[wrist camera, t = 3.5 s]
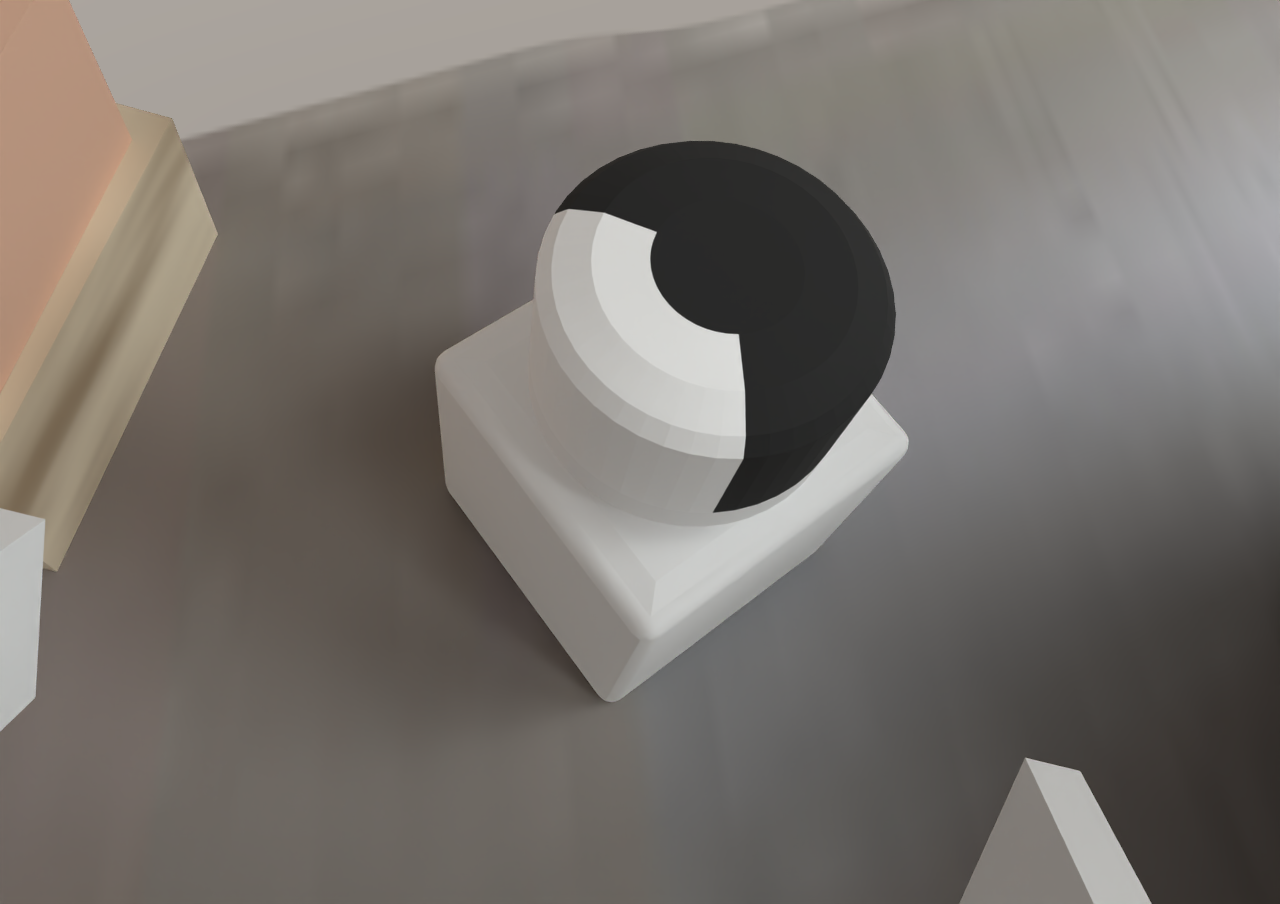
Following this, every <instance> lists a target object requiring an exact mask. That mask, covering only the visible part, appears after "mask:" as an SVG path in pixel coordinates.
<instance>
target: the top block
mask: <svg viewBox="0 0 1280 904" xmlns="http://www.w3.org/2000/svg"><path fill="white" fill-rule="evenodd" d="M131 141H132V138H131V136H130V134H129V132H128V129H127V127H126V125H125V123H124V121H123V118H122V116H121V114H120V112H119V110H118V107H117V105H116V103H115V101H114V99H113V97H112V94H111V92H110V90H109V88H108V85H107V83H106V81H105V79H104V77H103V74H102V72H101V70H100V68H99V66H98V63H97V61H96V59H95V57H94V55H93V52H92V50H91V48H90V46H89V44H88V41H87V39H86V37H85V35H84V33H83V30H82V28H81V26H80V24H79V22H78V19H77V17H76V15H75V13H74V11H73V9H72V6H71V4H70V2H69V0H0V393H1V391H2V389H3V387H4V385H5V384H6V382H7V380H8V378H9V376H10V374H11V372H12V370H13V368H14V366H15V364H16V362H17V360H18V359H19V357H20V355H21V353H22V351H23V349H24V347H25V345H26V343H27V341H28V339H29V337H30V335H31V334H32V332H33V330H34V328H35V326H36V324H37V322H38V320H39V318H40V316H41V314H42V312H43V310H44V309H45V307H46V305H47V303H48V301H49V299H50V297H51V295H52V293H53V291H54V289H55V287H56V285H57V284H58V282H59V280H60V278H61V276H62V274H63V272H64V270H65V268H66V266H67V264H68V262H69V260H70V259H71V257H72V255H73V253H74V251H75V249H76V247H77V245H78V243H79V241H80V239H81V237H82V235H83V234H84V232H85V230H86V228H87V226H88V224H89V222H90V220H91V218H92V216H93V214H94V212H95V210H96V209H97V207H98V205H99V203H100V201H101V199H102V197H103V195H104V193H105V191H106V189H107V187H108V185H109V184H110V182H111V180H112V178H113V176H114V174H115V172H116V170H117V168H118V166H119V164H120V162H121V160H122V159H123V157H124V155H125V153H126V151H127V149H128V147H129V145H130V143H131Z"/></svg>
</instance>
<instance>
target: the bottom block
mask: <svg viewBox="0 0 1280 904" xmlns="http://www.w3.org/2000/svg"><path fill="white" fill-rule="evenodd" d="M116 105H117V107H118V110H119V112H120V114H121V116H122V118H123V121H124V123H125V125H126V127H127V129H128V132H129V134H130V136H131V138H132V141H131V143H130V145H129V147H128V149H127V151H126V153H125V155H124V157H123V159H122V160H121V162H120V164H119V166H118V168H117V170H116V172H115V174H114V176H113V178H112V180H111V182H110V184H109V185H108V187H107V189H106V191H105V193H104V195H103V197H102V199H101V201H100V203H99V205H98V207H97V209H96V210H95V212H94V214H93V216H92V218H91V220H90V222H89V224H88V226H87V228H86V230H85V232H84V234H83V235H82V237H81V239H80V241H79V243H78V245H77V247H76V249H75V251H74V253H73V255H72V257H71V259H70V260H69V262H68V264H67V266H66V268H65V270H64V272H63V274H62V276H61V278H60V280H59V282H58V284H57V285H56V287H55V289H54V291H53V293H52V295H51V297H50V299H49V301H48V303H47V305H46V307H45V309H44V310H43V312H42V314H41V316H40V318H39V320H38V322H37V324H36V326H35V328H34V330H33V332H32V334H31V335H30V337H29V339H28V341H27V343H26V345H25V347H24V349H23V351H22V353H21V355H20V357H19V359H18V360H17V362H16V364H15V366H14V368H13V370H12V372H11V374H10V376H9V378H8V380H7V382H6V384H5V385H4V387H3V389H2V391H1V393H0V508H1V509H5V510H10V511H14V512H18V513H22V514H26V515H30V516H34V517H38V518H42V519H45V535H44V553H43V568H44V569H48V570H52V571H55V572H57V571H58V569H59V567H60V565H61V563H62V561H63V558H64V556H65V554H66V552H67V550H68V548H69V546H70V544H71V542H72V540H73V537H74V535H75V533H76V531H77V529H78V527H79V525H80V523H81V521H82V519H83V516H84V514H85V512H86V510H87V508H88V506H89V504H90V502H91V500H92V498H93V495H94V493H95V491H96V489H97V487H98V485H99V483H100V481H101V479H102V477H103V474H104V472H105V470H106V468H107V466H108V464H109V462H110V460H111V458H112V456H113V453H114V451H115V449H116V447H117V445H118V443H119V441H120V439H121V437H122V435H123V432H124V430H125V428H126V426H127V424H128V422H129V420H130V418H131V416H132V414H133V411H134V409H135V407H136V405H137V403H138V401H139V399H140V397H141V395H142V393H143V390H144V388H145V386H146V384H147V382H148V380H149V378H150V376H151V374H152V372H153V369H154V367H155V365H156V363H157V361H158V359H159V357H160V355H161V353H162V351H163V348H164V346H165V344H166V342H167V340H168V338H169V336H170V334H171V332H172V330H173V327H174V325H175V323H176V321H177V319H178V317H179V315H180V313H181V311H182V309H183V307H184V304H185V302H186V300H187V298H188V296H189V294H190V292H191V290H192V288H193V286H194V283H195V281H196V279H197V277H198V275H199V273H200V271H201V269H202V267H203V265H204V262H205V260H206V258H207V256H208V254H209V252H210V250H211V248H212V246H213V244H214V241H215V239H216V237H217V235H218V233H217V231H216V228H215V226H214V223H213V221H212V218H211V216H210V213H209V210H208V208H207V205H206V203H205V200H204V198H203V195H202V193H201V190H200V188H199V185H198V183H197V180H196V178H195V175H194V173H193V170H192V168H191V165H190V163H189V160H188V157H187V155H186V152H185V150H184V147H183V145H182V142H181V140H180V137H179V135H178V132H177V130H176V127H175V125H174V122H173V120H172V118H169V117H165V116H161V115H158V114H154V113H150V112H147V111H142V110H139V109H135V108H132V107H128V106H124V105H121V104H117V103H116Z"/></svg>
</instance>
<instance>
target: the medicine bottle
mask: <svg viewBox="0 0 1280 904" xmlns="http://www.w3.org/2000/svg"><path fill="white" fill-rule="evenodd" d="M895 317H896V312H895V303H894V293H893V289H892V285H891V281H890V277H889V273H888V270H887V267H886V265H885V262H884V260H883V258H882V255H881V253H880V250H879V249H878V247H877V245H876V243H875V242H874V240H873V238H872V237H871V235H870V233H869V231H868V230H867V229H866V227H865V226H864V225H863V223H862V222H861V221H860V220H859V218H858V217H857V216H856V214H855V213H854V212H853V211H852V210H851V209H850V208H849V207H848V206H847V205H846V204H845V203H844V202H843V201H842V200H841V199H840V198H839V196H838V195H837V194H836V193H835V192H833V191H832V190H831V189H830V188H828V187H827V186H826V185H825V184H824V183H822V182H821V181H820V180H819V179H817V178H816V177H814V176H813V175H811V174H809V173H808V172H806V171H805V170H803V169H802V168H800V167H798V166H796V165H794V164H792V163H790V162H788V161H786V160H784V159H782V158H780V157H778V156H775V155H772V154H769V153H767V152H764V151H761V150H758V149H755V148H750V147H746V146H742V145H738V144H732V143H723V142H715V141H687V142H678V143H669V144H661V145H657V146H653V147H649V148H645V149H640V150H638V151H635V152H632V153H630V154H627V155H625V156H622V157H619V158H617V159H616V160H614V161H612V162H610V163H608V164H606V165H605V166H603V167H601V168H599V169H598V170H596V171H595V172H594V173H592V174H591V175H590V176H588V177H587V178H586V179H584V180H583V181H582V182H581V183H580V184H579V185H578V186H577V187H576V188H575V189H574V190H573V191H572V192H571V193H570V194H569V195H568V196H567V197H566V198H565V200H564V201H563V203H562V204H561V205H560V207H559V208H558V210H557V211H556V212H555V214H554V216H553V218H552V220H551V222H550V224H549V226H548V228H547V230H546V232H545V234H544V237H543V240H542V243H541V247H540V250H539V253H538V259H537V267H536V274H535V286H534V299H533V300H531V301H530V302H528V303H526V304H524V305H523V306H521V307H519V308H517V309H516V310H514V311H512V312H511V313H509V314H507V315H505V316H504V317H502V318H500V319H499V320H497V321H495V322H493V323H492V324H490V325H488V326H486V327H485V328H483V329H481V330H480V331H478V332H476V333H474V334H473V335H471V336H469V337H468V338H466V339H464V340H462V341H461V342H459V343H457V344H455V345H454V346H452V347H450V348H449V349H447V350H445V351H444V352H443V353H442V354H441V355H440V356H439V357H438V358H437V360H436V364H435V379H436V389H437V399H438V410H439V420H440V430H441V441H442V451H443V462H444V472H445V482H446V486H447V489H448V491H449V493H450V494H451V495H452V497H453V498H454V499H455V501H456V502H457V503H458V505H459V506H460V508H461V509H462V510H463V512H464V513H465V514H466V516H467V517H468V518H469V520H470V521H471V523H472V524H473V525H474V527H475V528H476V529H477V531H478V532H479V533H480V535H481V536H482V537H483V539H484V540H485V542H486V543H487V544H488V546H489V547H490V548H491V550H492V551H493V552H494V554H495V555H496V557H497V558H498V559H499V561H500V562H501V563H502V565H503V566H504V567H505V569H506V570H507V572H508V573H509V574H510V576H511V577H512V578H513V580H514V581H515V582H516V584H517V585H518V587H519V588H520V589H521V591H522V592H523V593H524V595H525V596H526V597H527V599H528V600H529V601H530V603H531V604H532V606H533V607H534V608H535V610H536V611H537V612H538V614H539V615H540V616H541V618H542V619H543V621H544V622H545V623H546V625H547V626H548V627H549V629H550V630H551V631H552V633H553V634H554V636H555V637H556V638H557V640H558V641H559V642H560V644H561V645H562V646H563V648H564V649H565V651H566V652H567V653H568V655H569V656H570V657H571V659H572V660H573V661H574V663H575V664H576V665H577V667H578V668H579V670H580V671H581V672H582V674H583V675H584V676H585V678H586V679H587V680H588V682H589V683H590V685H591V686H592V687H593V689H594V690H595V691H596V693H597V694H598V695H599V696H600V697H601V698H602V699H603V700H605V701H608V702H615V701H618V700H620V699H622V698H623V697H624V696H626V695H627V694H628V693H630V692H631V691H632V690H634V689H635V688H636V687H638V686H639V685H640V684H642V683H643V682H644V681H645V680H647V679H648V678H649V677H651V676H652V675H653V674H655V673H656V672H657V671H659V670H660V669H661V668H663V667H664V666H665V665H667V664H668V663H669V662H671V661H672V660H673V659H674V658H676V657H677V656H678V655H680V654H681V653H682V652H684V651H685V650H686V649H688V648H689V647H690V646H692V645H693V644H694V643H696V642H697V641H698V640H700V639H701V638H702V637H703V636H705V635H706V634H707V633H709V632H710V631H711V630H713V629H714V628H715V627H717V626H718V625H719V624H721V623H722V622H723V621H725V620H726V619H727V618H729V617H730V616H731V615H732V614H734V613H735V612H736V611H738V610H739V609H740V608H742V607H743V606H744V605H746V604H747V603H748V602H750V601H751V600H752V599H754V598H755V597H756V596H758V595H759V594H760V593H761V592H763V591H764V590H765V589H767V588H768V587H769V586H771V585H772V584H773V583H775V582H776V581H777V580H779V579H780V578H781V577H783V576H784V575H785V574H787V573H788V572H789V571H790V570H792V569H793V568H794V567H796V566H797V565H798V564H800V563H801V562H802V561H804V560H805V559H806V558H808V557H809V556H810V555H812V554H813V553H814V552H815V551H816V550H817V549H818V548H819V547H820V546H821V545H822V544H823V543H824V542H825V541H826V540H827V539H828V537H829V536H830V535H831V534H832V533H833V532H834V531H835V530H836V529H837V528H838V527H839V526H840V524H841V523H842V522H843V521H844V520H845V519H846V518H847V517H848V516H849V515H850V514H851V513H852V512H853V510H854V509H855V508H856V507H857V506H858V505H859V504H860V503H861V502H862V501H863V500H864V499H865V497H866V496H867V495H868V494H869V493H870V492H871V491H872V490H873V489H874V488H875V487H876V486H877V484H878V483H879V482H880V481H881V480H882V479H883V478H884V477H885V476H886V475H887V474H888V473H889V472H890V470H891V469H892V468H893V467H894V466H895V465H896V464H897V463H898V462H899V461H900V460H901V459H902V457H903V456H904V455H905V453H906V452H907V450H908V443H909V439H908V437H907V435H906V433H905V431H904V430H903V429H902V428H901V427H900V426H899V424H898V423H897V422H896V421H895V420H894V419H893V418H892V417H891V415H890V414H889V413H888V412H887V411H886V410H885V409H884V407H883V406H882V405H881V404H880V403H879V402H878V401H877V399H876V398H875V397H874V396H873V395H872V392H873V390H874V389H875V387H876V386H877V384H878V382H879V381H880V379H881V377H882V375H883V373H884V370H885V368H886V365H887V363H888V360H889V358H890V354H891V349H892V345H893V340H894V335H895Z"/></svg>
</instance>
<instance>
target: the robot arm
mask: <svg viewBox="0 0 1280 904" xmlns="http://www.w3.org/2000/svg"><path fill="white" fill-rule="evenodd" d="M44 535H45V519H42V518H38V517H34V516H30V515H26V514H22V513H18V512H14V511H10V510H5V509H1V508H0V731H1V730H2V729H3V728H4V727H5V726H6V725H7V724H8V723H10V722H11V721H12V720H13V719H14V718H15V717H16V716H17V715H18V714H19V713H20V712H21V711H22V710H23V709H24V708H25V707H26V706H27V705H28V704H29V703H30V702H31V701H32V700H33V699H34V698H35V696H36V678H37V660H38V642H39V625H40V607H41V589H42V571H43V553H44ZM959 904H1152V903H1151V902H1150V900H1149V898H1148V896H1147V894H1146V892H1145V890H1144V889H1143V887H1142V885H1141V883H1140V881H1139V879H1138V877H1137V876H1136V874H1135V872H1134V870H1133V868H1132V866H1131V864H1130V863H1129V861H1128V859H1127V857H1126V855H1125V853H1124V851H1123V850H1122V848H1121V846H1120V844H1119V842H1118V840H1117V838H1116V837H1115V835H1114V833H1113V831H1112V829H1111V827H1110V825H1109V824H1108V822H1107V820H1106V818H1105V816H1104V814H1103V812H1102V811H1101V809H1100V807H1099V805H1098V803H1097V801H1096V799H1095V798H1094V796H1093V794H1092V792H1091V790H1090V788H1089V786H1088V785H1087V783H1086V781H1085V779H1084V777H1083V775H1082V773H1081V772H1080V771H1078V770H1074V769H1070V768H1066V767H1062V766H1058V765H1053V764H1049V763H1045V762H1041V761H1037V760H1033V759H1029V758H1025V759H1024V761H1023V763H1022V766H1021V768H1020V770H1019V772H1018V774H1017V777H1016V779H1015V781H1014V783H1013V786H1012V788H1011V790H1010V792H1009V794H1008V797H1007V799H1006V801H1005V803H1004V806H1003V808H1002V810H1001V812H1000V814H999V817H998V819H997V821H996V823H995V825H994V828H993V830H992V832H991V834H990V837H989V839H988V841H987V843H986V845H985V848H984V850H983V852H982V854H981V856H980V859H979V861H978V863H977V865H976V868H975V870H974V872H973V874H972V876H971V879H970V881H969V883H968V885H967V888H966V890H965V892H964V894H963V896H962V899H961V901H960V903H959Z"/></svg>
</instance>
